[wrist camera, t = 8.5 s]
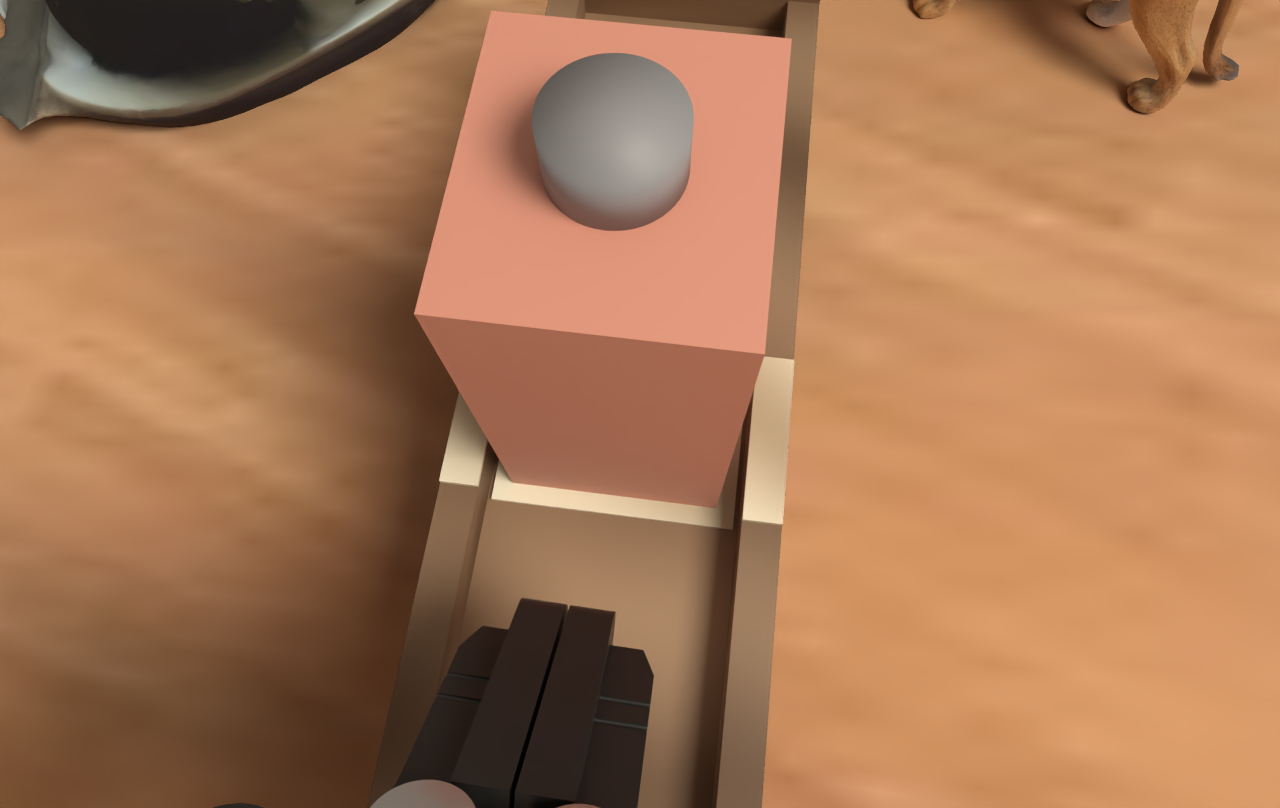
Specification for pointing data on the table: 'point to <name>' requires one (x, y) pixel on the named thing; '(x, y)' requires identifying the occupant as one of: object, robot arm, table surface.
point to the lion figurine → (1153, 41)
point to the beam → (640, 519)
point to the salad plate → (179, 54)
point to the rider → (611, 250)
